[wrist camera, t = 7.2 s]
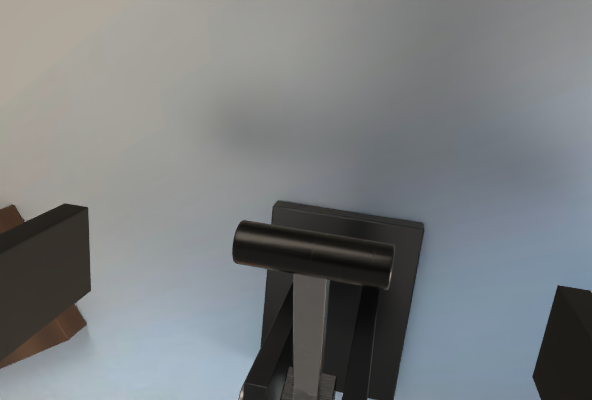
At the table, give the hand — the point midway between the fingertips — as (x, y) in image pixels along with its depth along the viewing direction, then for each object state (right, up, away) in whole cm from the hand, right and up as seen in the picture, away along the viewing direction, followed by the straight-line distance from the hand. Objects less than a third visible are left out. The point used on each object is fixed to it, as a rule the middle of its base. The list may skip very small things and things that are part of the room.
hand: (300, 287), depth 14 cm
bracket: (+3, -4, +19) cm, 20 cm away
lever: (+1, -3, +6) cm, 7 cm away
